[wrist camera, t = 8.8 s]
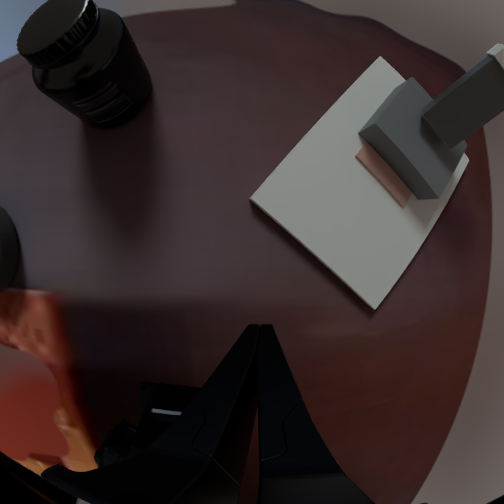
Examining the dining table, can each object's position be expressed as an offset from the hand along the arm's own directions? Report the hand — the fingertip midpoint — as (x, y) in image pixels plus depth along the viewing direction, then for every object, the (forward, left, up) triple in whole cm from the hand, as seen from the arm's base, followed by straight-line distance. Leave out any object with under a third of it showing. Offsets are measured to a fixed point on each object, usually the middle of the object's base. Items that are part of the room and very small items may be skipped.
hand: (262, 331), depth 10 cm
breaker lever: (+13, -14, -8) cm, 21 cm away
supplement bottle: (+14, +12, -13) cm, 23 cm away
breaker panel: (+9, -12, -13) cm, 20 cm away
